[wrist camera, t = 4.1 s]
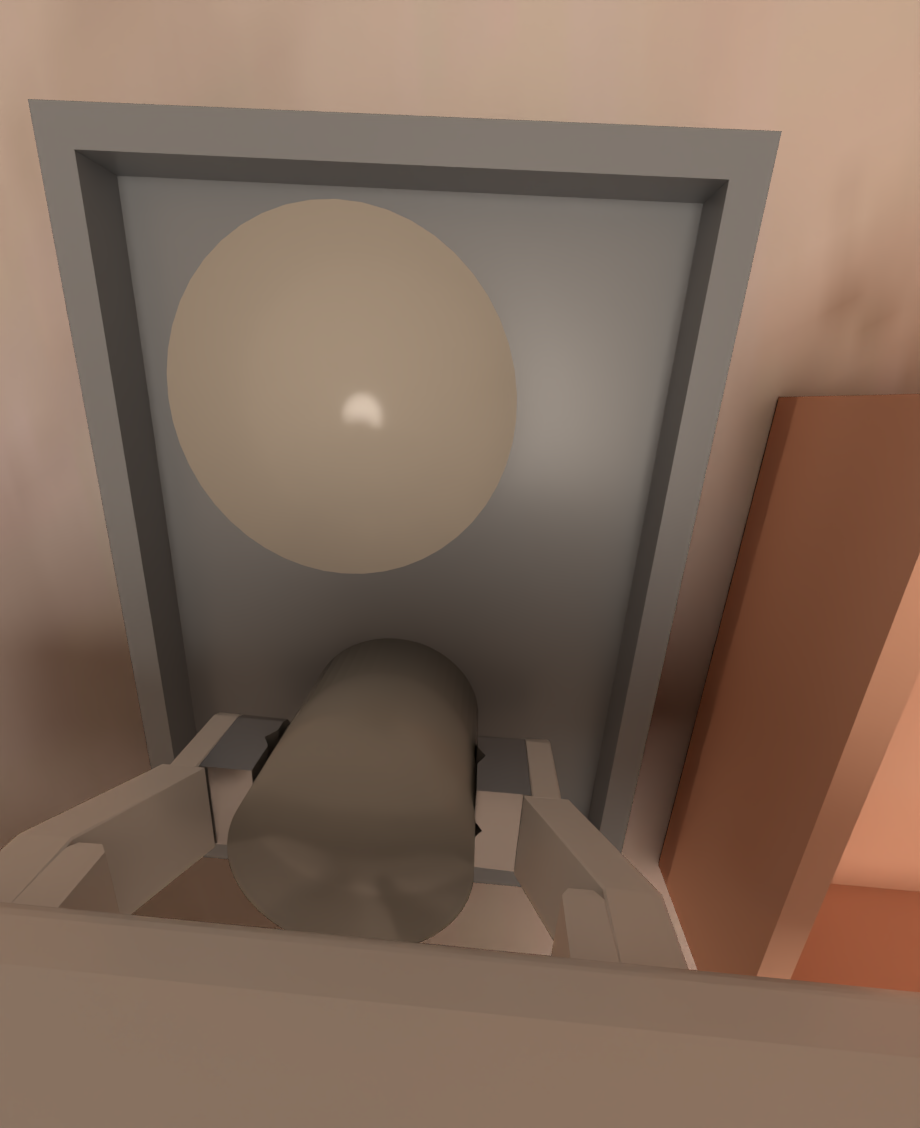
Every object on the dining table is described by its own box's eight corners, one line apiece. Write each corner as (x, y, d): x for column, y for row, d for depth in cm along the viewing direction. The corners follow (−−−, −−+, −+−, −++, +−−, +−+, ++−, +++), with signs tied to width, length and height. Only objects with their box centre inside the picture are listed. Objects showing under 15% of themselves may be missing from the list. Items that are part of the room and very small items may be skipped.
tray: (599, 845, 13) (611, 895, 12) (198, 808, 13) (166, 853, 12) (734, 174, 8) (782, 130, 7) (98, 146, 9) (28, 98, 7)
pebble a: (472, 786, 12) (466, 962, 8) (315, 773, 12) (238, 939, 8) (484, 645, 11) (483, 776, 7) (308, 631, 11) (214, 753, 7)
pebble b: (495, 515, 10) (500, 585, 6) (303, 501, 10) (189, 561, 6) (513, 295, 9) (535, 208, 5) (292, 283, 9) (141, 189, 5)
